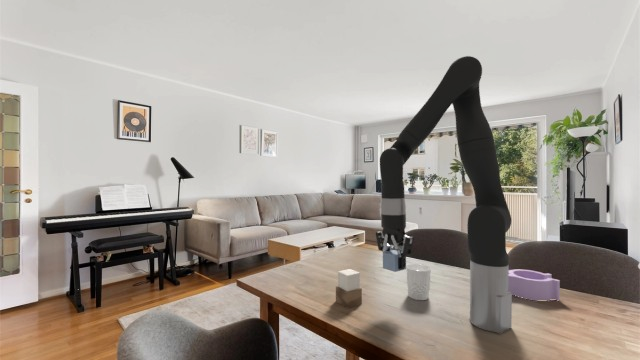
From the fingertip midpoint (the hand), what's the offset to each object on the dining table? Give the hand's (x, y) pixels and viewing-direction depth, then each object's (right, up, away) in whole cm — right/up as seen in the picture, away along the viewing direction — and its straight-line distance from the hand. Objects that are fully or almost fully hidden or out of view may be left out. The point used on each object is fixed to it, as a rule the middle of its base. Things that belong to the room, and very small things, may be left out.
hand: (394, 266), depth 92 cm
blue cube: (0, -1, 0) cm, 1 cm away
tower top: (-14, -8, +4) cm, 16 cm away
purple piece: (+47, -13, +11) cm, 50 cm away
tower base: (-14, -13, +4) cm, 19 cm away
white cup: (+10, -13, +9) cm, 19 cm away
